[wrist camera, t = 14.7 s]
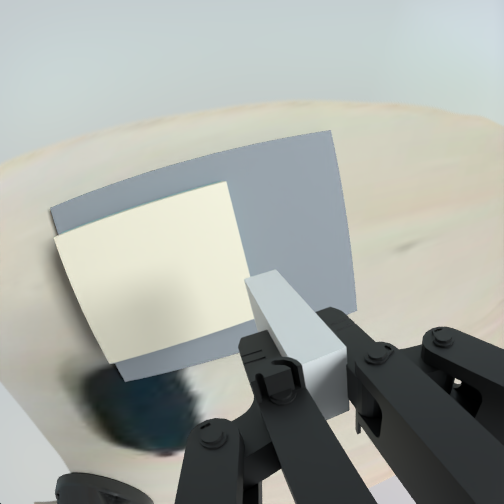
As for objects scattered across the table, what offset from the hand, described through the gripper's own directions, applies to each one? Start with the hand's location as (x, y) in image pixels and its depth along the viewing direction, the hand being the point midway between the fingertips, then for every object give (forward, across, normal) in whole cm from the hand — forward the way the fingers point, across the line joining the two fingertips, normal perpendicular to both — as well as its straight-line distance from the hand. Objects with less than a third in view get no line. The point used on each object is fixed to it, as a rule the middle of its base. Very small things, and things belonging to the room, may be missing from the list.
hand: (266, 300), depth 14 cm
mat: (+10, -2, -1) cm, 10 cm away
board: (+8, 0, 0) cm, 8 cm away
